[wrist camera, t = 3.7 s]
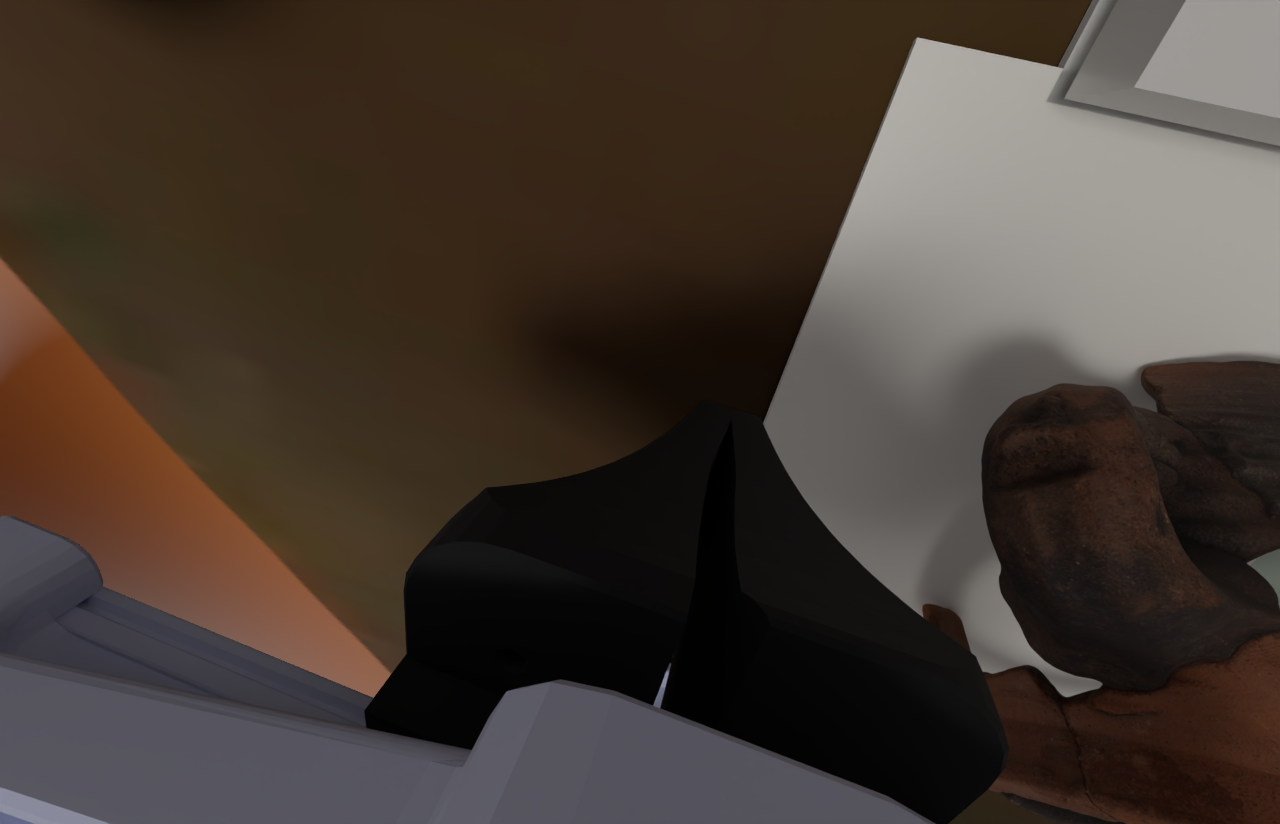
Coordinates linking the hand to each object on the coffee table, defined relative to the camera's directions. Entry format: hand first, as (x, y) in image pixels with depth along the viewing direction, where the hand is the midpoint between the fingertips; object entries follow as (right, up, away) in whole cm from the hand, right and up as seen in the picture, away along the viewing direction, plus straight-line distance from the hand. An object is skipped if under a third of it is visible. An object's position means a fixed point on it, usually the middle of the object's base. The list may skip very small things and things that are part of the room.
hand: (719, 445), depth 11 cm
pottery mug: (+9, -2, +1) cm, 9 cm away
